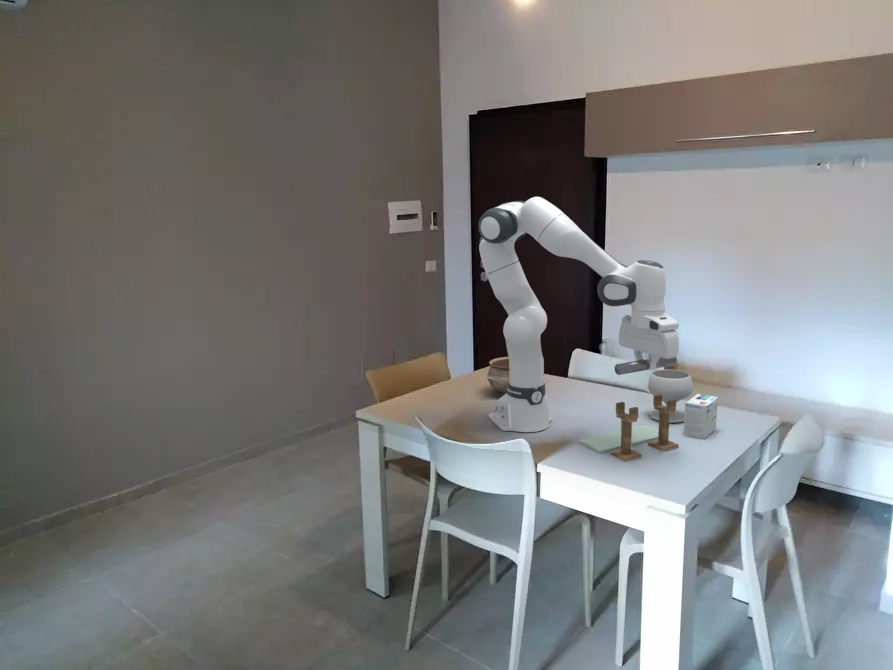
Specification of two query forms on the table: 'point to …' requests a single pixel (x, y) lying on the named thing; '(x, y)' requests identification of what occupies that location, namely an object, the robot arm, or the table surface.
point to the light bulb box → (700, 416)
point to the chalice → (670, 389)
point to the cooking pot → (499, 374)
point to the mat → (614, 439)
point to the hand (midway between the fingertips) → (646, 367)
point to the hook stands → (627, 420)
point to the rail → (642, 365)
